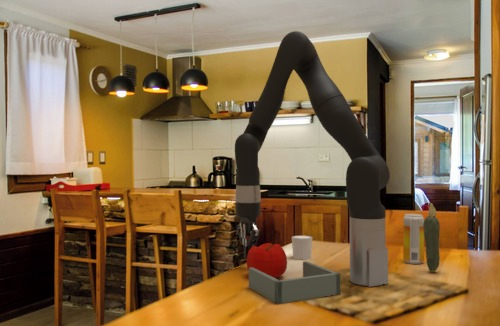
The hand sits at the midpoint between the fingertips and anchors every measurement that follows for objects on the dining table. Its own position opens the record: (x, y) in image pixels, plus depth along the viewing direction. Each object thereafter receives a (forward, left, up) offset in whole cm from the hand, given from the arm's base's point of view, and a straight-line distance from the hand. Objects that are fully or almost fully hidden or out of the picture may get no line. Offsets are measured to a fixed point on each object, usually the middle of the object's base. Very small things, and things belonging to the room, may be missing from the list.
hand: (248, 258), depth 142 cm
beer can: (-16, -50, -3) cm, 53 cm away
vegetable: (-28, -45, -3) cm, 53 cm away
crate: (-27, 0, -3) cm, 27 cm away
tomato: (-12, 0, -3) cm, 12 cm away
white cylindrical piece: (+5, -22, -3) cm, 23 cm away
